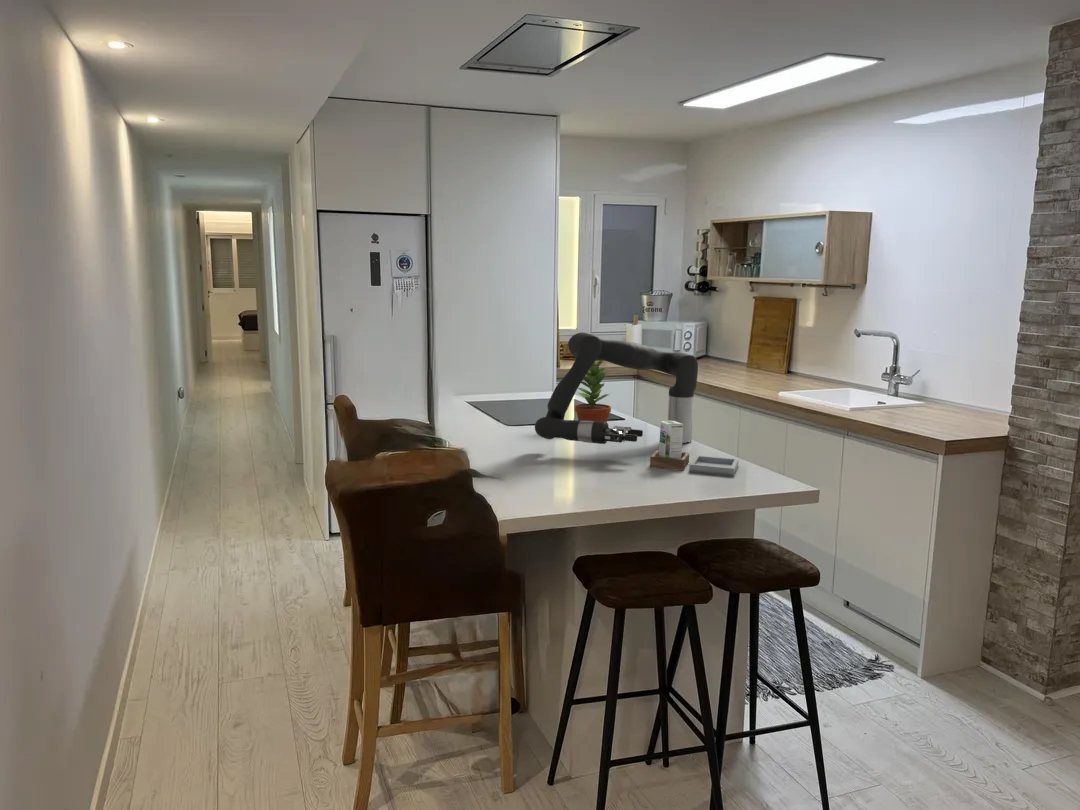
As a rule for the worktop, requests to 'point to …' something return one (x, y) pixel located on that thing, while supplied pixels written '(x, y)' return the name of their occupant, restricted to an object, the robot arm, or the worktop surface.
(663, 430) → the syrup box
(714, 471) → the slate tray
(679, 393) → the robot arm
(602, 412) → the potted plant
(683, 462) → the walnut holder
